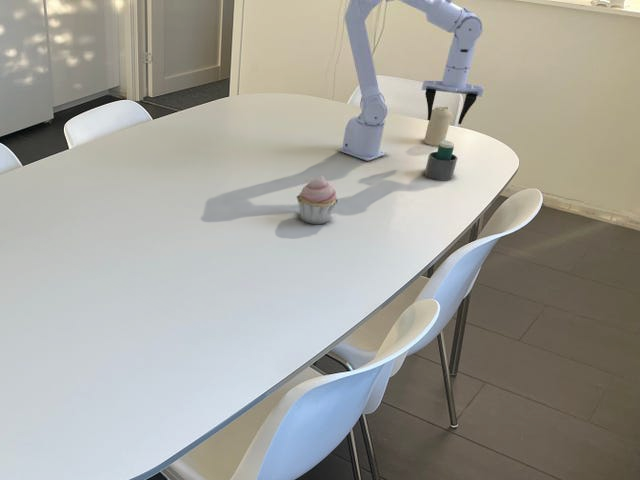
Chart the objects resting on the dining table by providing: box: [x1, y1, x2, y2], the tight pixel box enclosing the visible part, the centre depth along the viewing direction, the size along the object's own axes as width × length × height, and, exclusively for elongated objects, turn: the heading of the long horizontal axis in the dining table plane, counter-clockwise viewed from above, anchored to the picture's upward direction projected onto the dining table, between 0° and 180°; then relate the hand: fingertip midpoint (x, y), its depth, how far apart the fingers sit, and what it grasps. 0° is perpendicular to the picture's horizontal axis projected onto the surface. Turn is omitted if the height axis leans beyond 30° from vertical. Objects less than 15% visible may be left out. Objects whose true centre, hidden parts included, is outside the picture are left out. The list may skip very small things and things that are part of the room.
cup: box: [424, 151, 458, 181], centre depth 186 cm, size 7×7×5 cm
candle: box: [423, 106, 453, 147], centre depth 204 cm, size 6×6×10 cm
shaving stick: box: [436, 140, 455, 161], centre depth 184 cm, size 4×4×8 cm
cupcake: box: [295, 175, 340, 225], centre depth 161 cm, size 9×9×10 cm
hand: (444, 121), depth 190 cm, fingers open, 7 cm apart
